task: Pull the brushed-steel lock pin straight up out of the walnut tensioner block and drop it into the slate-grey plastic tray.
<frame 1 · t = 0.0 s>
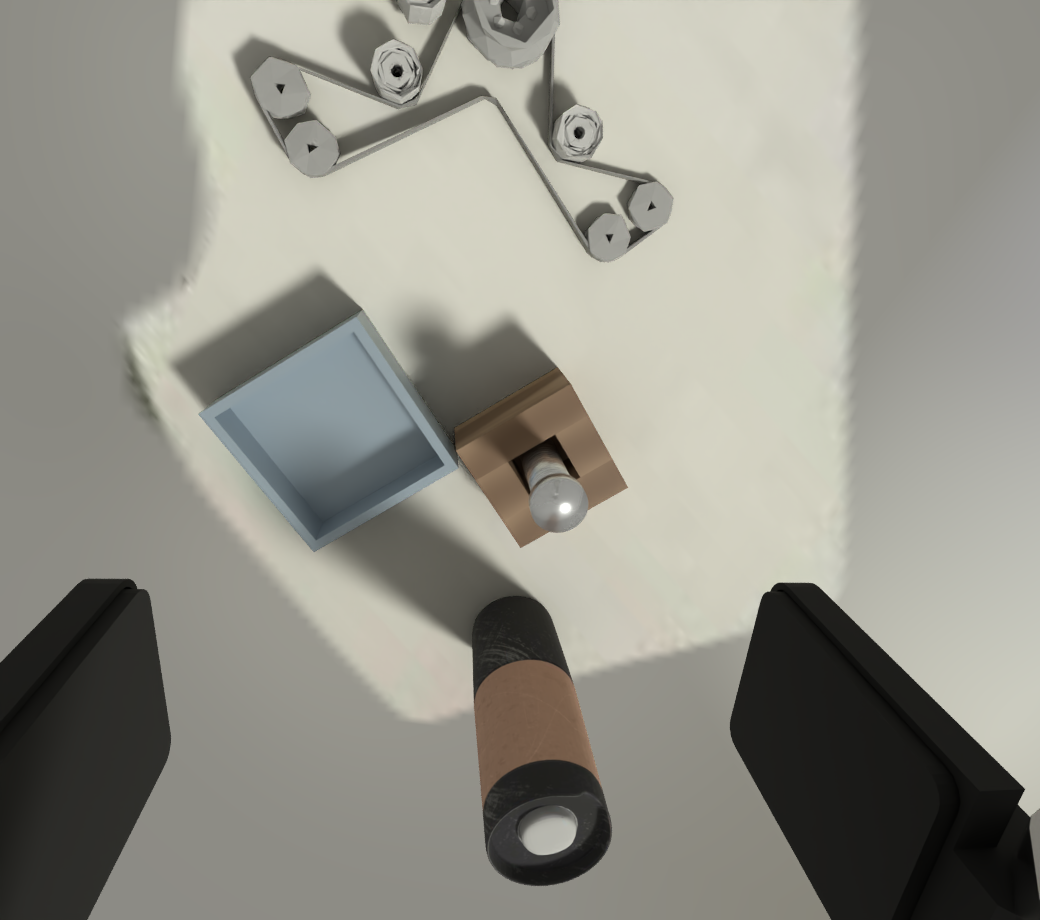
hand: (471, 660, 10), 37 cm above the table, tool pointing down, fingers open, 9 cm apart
pin tray: (341, 426, 46), on the table
pulley system: (488, 100, 40), on the table
lock pin: (536, 450, 48), point 1 cm above the table, touching tensioner block
tensioner block: (534, 445, 49), on the table
travel mug: (512, 628, 55), on the table
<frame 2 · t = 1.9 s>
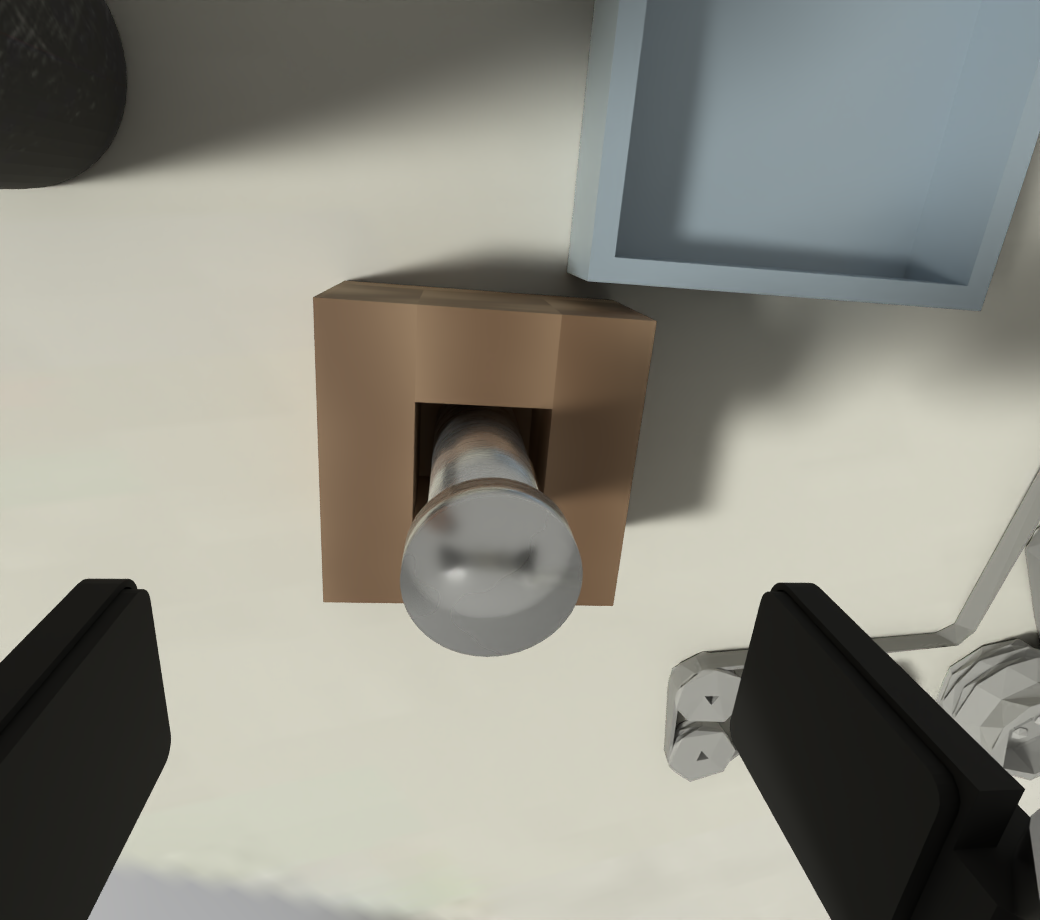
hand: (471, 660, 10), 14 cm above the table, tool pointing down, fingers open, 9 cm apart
pin tray: (781, 82, 20), on the table
pulley system: (938, 619, 29), on the table
lock pin: (476, 427, 22), point 1 cm above the table, touching tensioner block
tensioner block: (475, 418, 23), on the table
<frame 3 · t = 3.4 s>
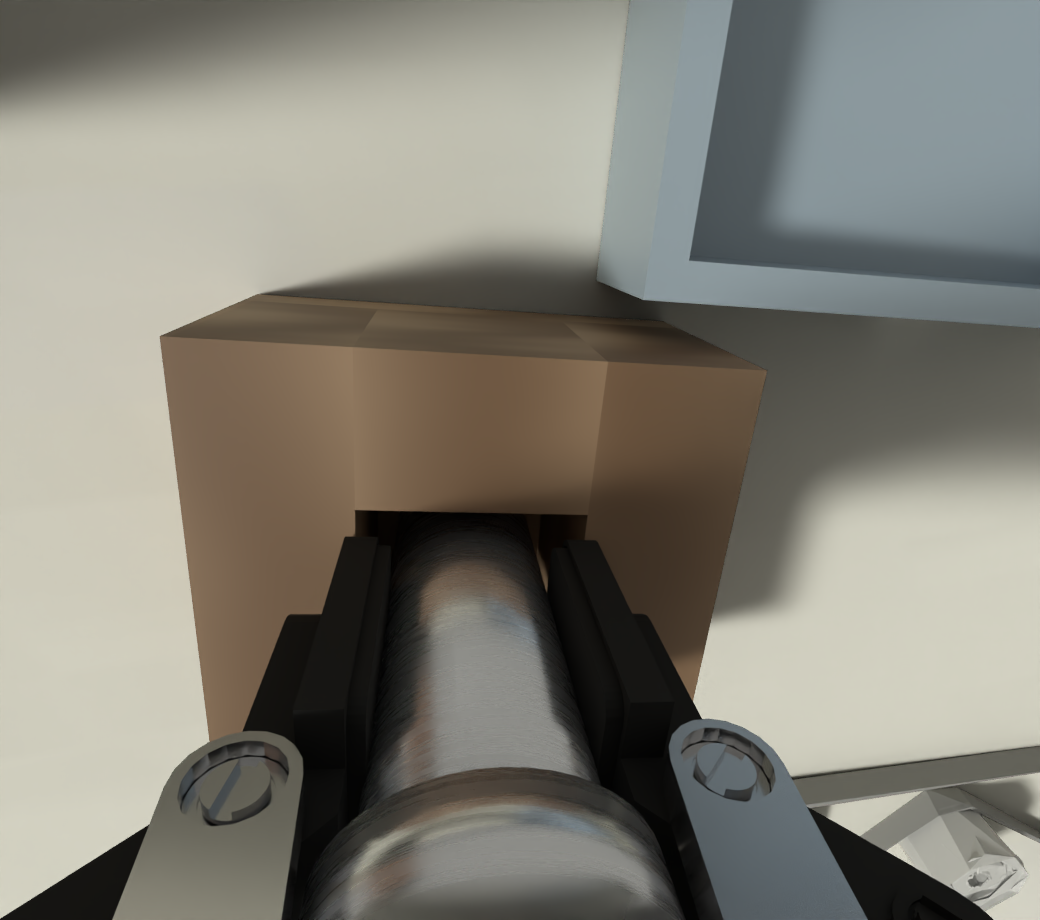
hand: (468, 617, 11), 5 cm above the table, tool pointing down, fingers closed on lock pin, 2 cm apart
lock pin: (461, 510, 15), point 1 cm above the table, touching gripper, tensioner block
tensioner block: (459, 493, 15), on the table
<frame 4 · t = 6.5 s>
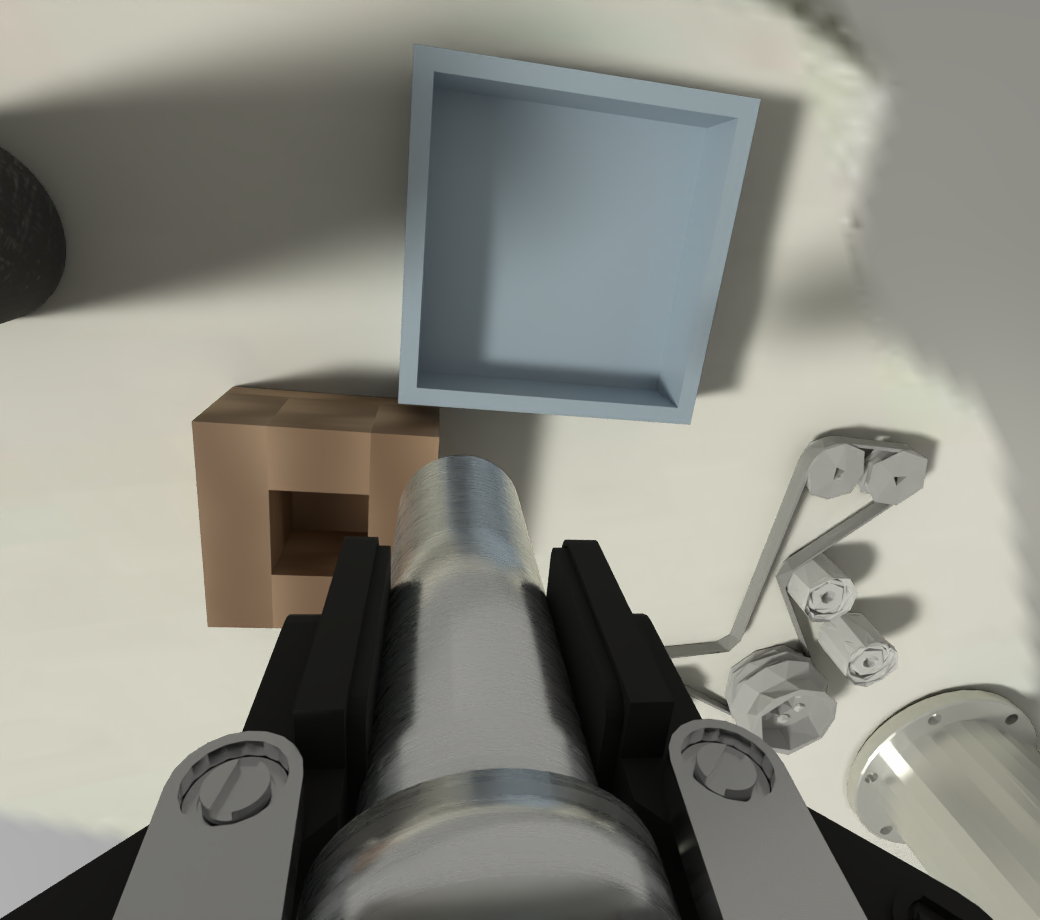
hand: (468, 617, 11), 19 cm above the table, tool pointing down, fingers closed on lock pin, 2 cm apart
pin tray: (554, 253, 27), on the table
pulley system: (721, 630, 37), on the table
lock pin: (460, 511, 15), point 15 cm above the table, touching gripper
tensioner block: (338, 485, 30), on the table
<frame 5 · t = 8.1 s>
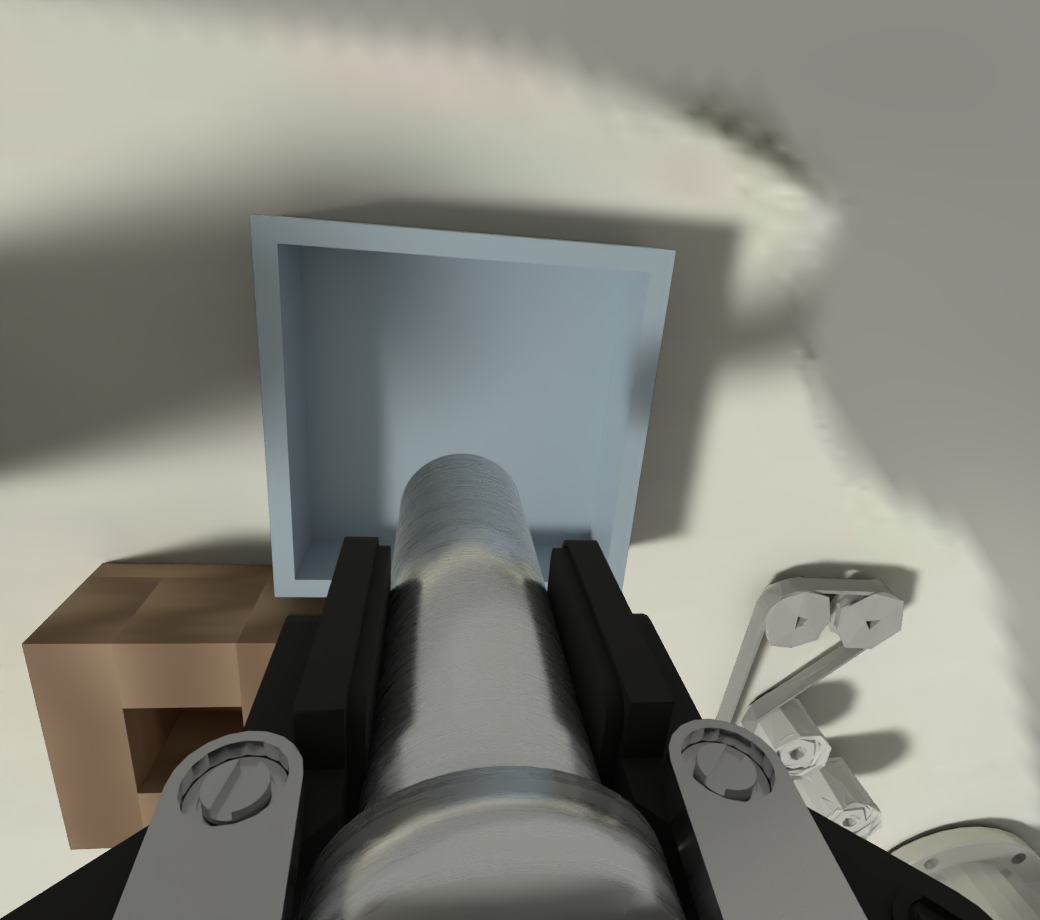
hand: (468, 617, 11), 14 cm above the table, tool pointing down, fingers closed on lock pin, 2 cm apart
pin tray: (459, 405, 24), on the table
pulley system: (686, 774, 33), on the table
lock pin: (461, 509, 15), point 10 cm above the table, touching gripper
tensioner block: (233, 657, 26), on the table
when the fingers open (7 cm above the table, at t = 9.5 s): lock pin drops 2 cm, resting on pin tray.
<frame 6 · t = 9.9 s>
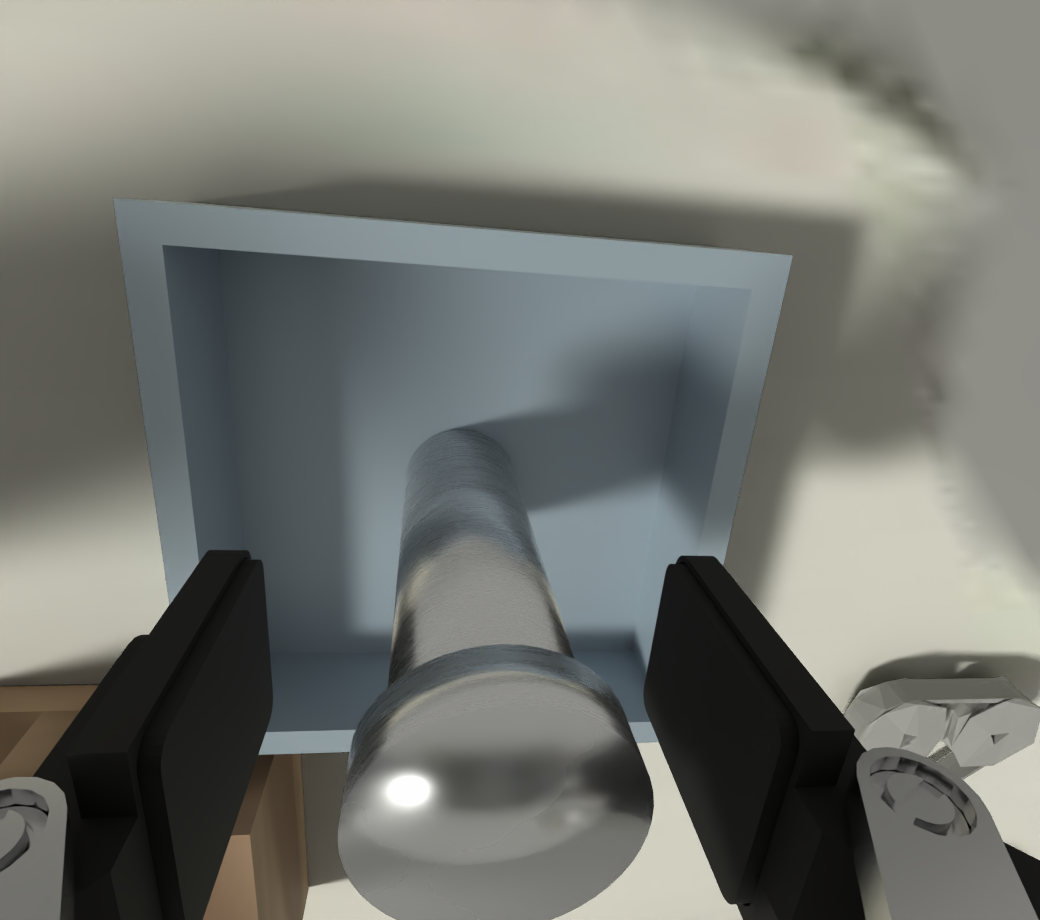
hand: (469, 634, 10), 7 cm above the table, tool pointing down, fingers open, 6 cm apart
pin tray: (458, 470, 17), on the table
pulley system: (740, 902, 26), on the table
lock pin: (460, 479, 16), point 1 cm above the table, touching pin tray
tensioner block: (154, 799, 20), on the table
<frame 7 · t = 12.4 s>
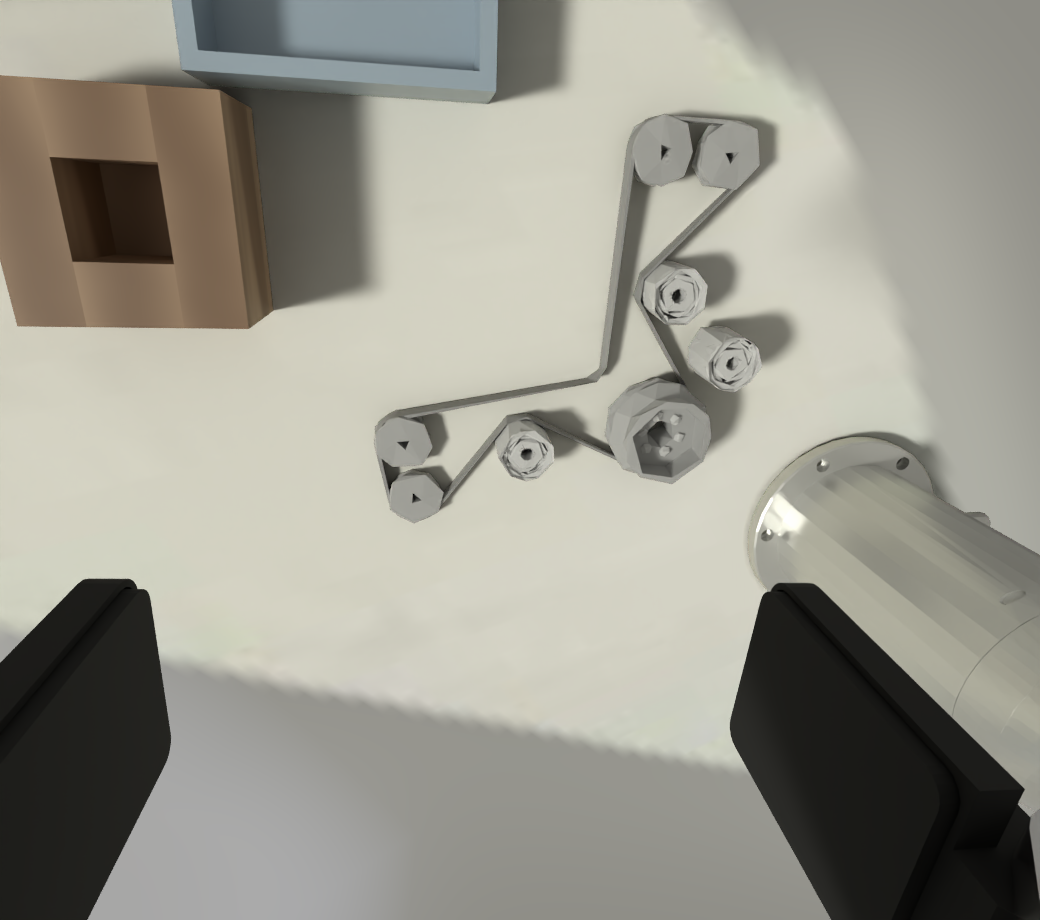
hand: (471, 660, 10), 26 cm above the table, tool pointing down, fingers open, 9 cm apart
pulley system: (593, 370, 36), on the table
tensioner block: (161, 211, 29), on the table
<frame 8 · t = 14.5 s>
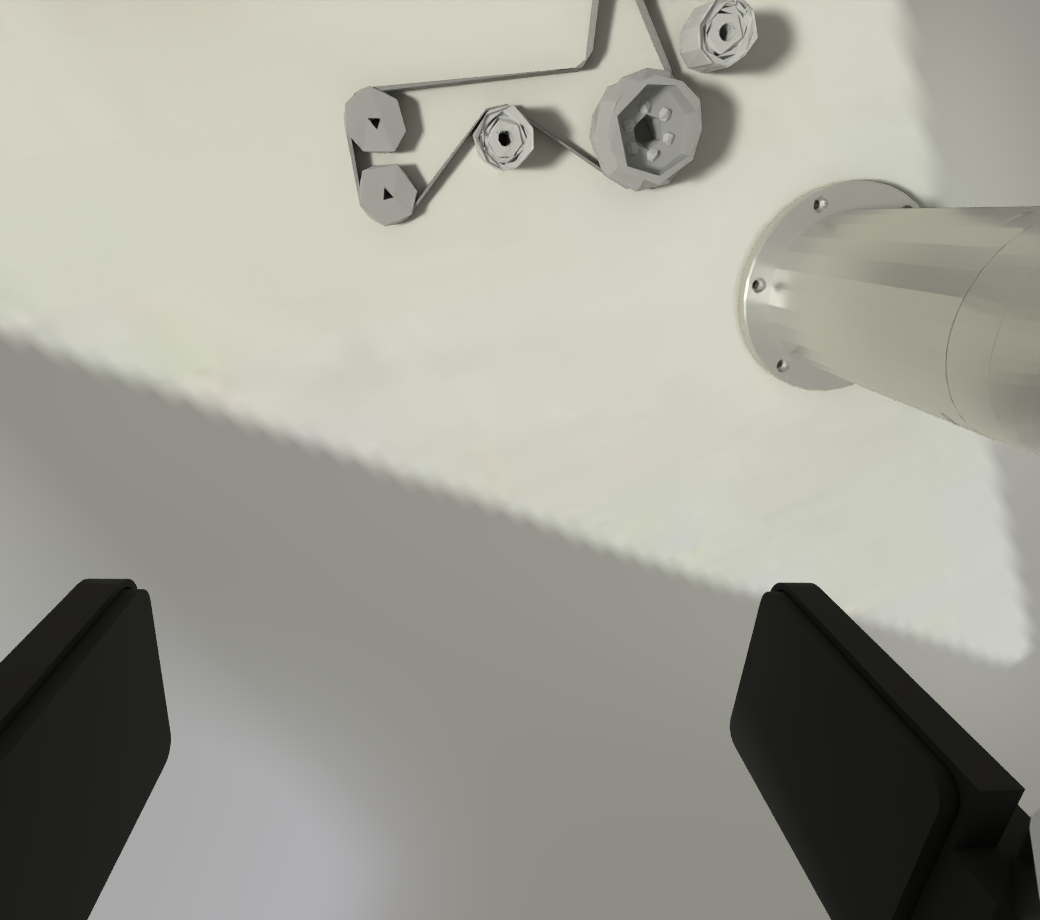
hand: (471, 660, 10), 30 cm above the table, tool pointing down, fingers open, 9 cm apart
pulley system: (580, 68, 34), on the table
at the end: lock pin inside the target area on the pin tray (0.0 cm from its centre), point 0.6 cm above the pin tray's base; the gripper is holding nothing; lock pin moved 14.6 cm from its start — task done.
